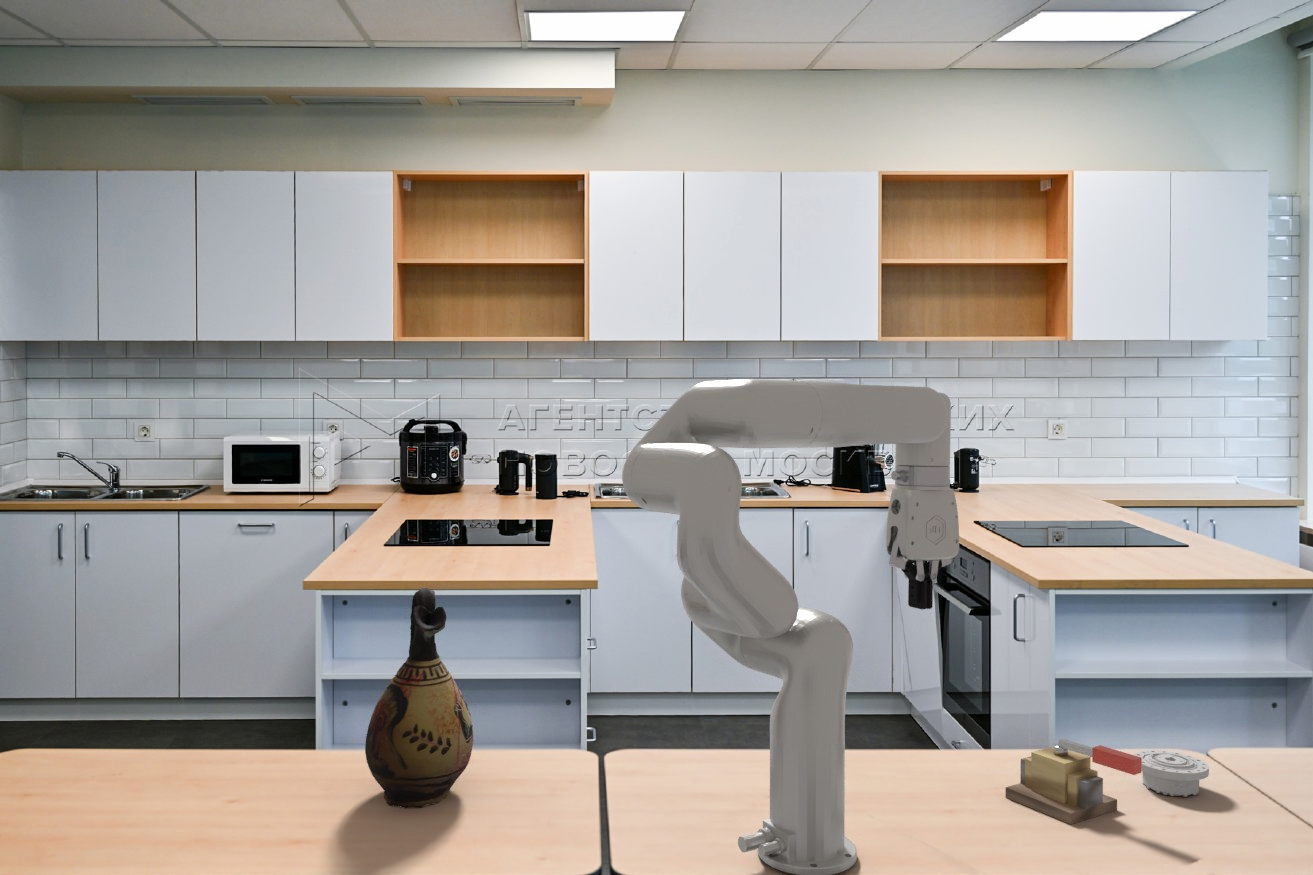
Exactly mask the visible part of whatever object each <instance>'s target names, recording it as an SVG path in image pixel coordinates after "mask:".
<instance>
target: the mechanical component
mask: <svg viewBox="0 0 1313 875" xmlns="http://www.w3.org/2000/svg"><path fill="white" fill-rule="evenodd" d="M1133 755H1134V756H1138V757H1141V758H1142V772H1141V773H1142V778H1141V779H1142V780H1141V781H1142V785H1145V786H1146V789H1147V790H1148V789H1149V790H1150V789H1151V790H1152V791H1154V792H1156V793H1158V794H1163V795H1168V796H1171V797H1174V796H1175V797H1176V796H1177V797H1179V796H1180V797H1186V798H1187V797H1188V796H1192V795H1193V796H1196V795H1197V794H1199V792H1200V780H1204V779H1206V778H1208V777H1209V774H1210V766H1209V765H1208V763H1206V762H1205V761H1203V760H1202V759H1200V758H1198V757H1195V756H1192V755H1189V754H1185V753H1181V752H1175V751H1171V750H1170V751H1169V750H1161V749H1160V750H1158V749H1157V750H1156V749H1154V750H1153V749H1149V750H1142V751H1137V752H1136V753H1134V754H1133Z"/></svg>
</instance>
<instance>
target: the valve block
mask: <svg viewBox="0 0 1313 875" xmlns="http://www.w3.org/2000/svg"><path fill="white" fill-rule="evenodd" d="M1019 779H1020V783H1015V784H1012V785H1009V786H1006V787H1005V798H1006V799H1009V800H1011V801H1013V802H1016V803H1018V804H1021V805H1022V806H1025V807H1028V808H1030V809H1032V810H1036V811H1038V812H1040V813H1043V814H1045V815H1047V816H1050V817H1052V818H1054V819H1056V820H1059V821H1062V822H1064V823H1067V824H1069V825H1073V824H1076V823H1080V822H1083V821H1086V820H1090V819H1093V818H1095V817H1099V816H1101V815H1106V814H1109V813H1112V812H1114V811H1118V799H1117V798H1114V797H1112V796H1109V795H1106V794H1104V792H1103V790H1104V778H1103V777H1100V776H1098V770H1096V769H1095V770H1094V769H1092V768H1091V757H1090V756H1086V755H1083V754H1080V753H1077V752H1074V751H1070V750H1068V755H1057V754H1054V753H1053V746H1051V747H1050V746H1049V747H1046V748H1042V749H1039V750H1033V751H1031V756H1028V757H1023V758H1020V778H1019Z"/></svg>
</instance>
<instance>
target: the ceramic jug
mask: <svg viewBox="0 0 1313 875" xmlns="http://www.w3.org/2000/svg"><path fill="white" fill-rule="evenodd" d="M435 595H436V593H435V591H434V590H433V589H429V588H428V587H422V588H420V589H418V590H417V591H415V593H414V594H413V596H412V600H411V603H412V604H411V612H410V617H409V618H410V626H409V628H410V641H409V648H408V657H407V658H406V660H405V662H403V664H401V666H400V668H399V669H398V670H397V672H396V673H395V675H394V676H393V677H392V678H391V679H390V681H389V683H388V684H387V686H386V688H385V689H384V691H383V692H382V694H381V696H380V698H379V699H378V700H377V701H378V702H376V705H375V706H374V708H373V711H372V715H371V717H370V720H369V724H368V727H367V731H366V736H365V745H364V746H365V748H364V749H365V751H364V752H365V759H366V763H367V766H368V768H369V771H370V773H371V776H372V777H373V778H374V780H375V781H376V782H377V783H378V784H379V786H380V787H381V788H382V789H383V792H384V793H383V794H384V795H383V798H384V800H385V803H386V805H388V806H390V807H391V806H394V807H399V808H400V807H401V808H404V809H422V808H423V807H426V806H432V805H436V804H439V803H440V802H442V801H443V800H445V799H446V798H447V796H448V795H449V793H450V790H451V789H452V787H453V785H454V784H455V783H456V781H457V780H458V779H459V777H460V776H461V775H462V773H464V771H465V770H466V768H467V766H468V765H469V763H470V759H471V755H472V751H473V746H474V730H473V729H474V728H473V727H474V726H473V723H472V722H473V721H472V719H471V713H470V710H469V708H468V703H467V702H466V700H465V698H464V694H463V693H462V691H461V690H460V688H459V686H458V684H457V682H456V681H455V679H454V677H453V675H452V674H451V672H450V671H449V670H448V668H446V665H445V664H444V663H443V661H442V659H441V656H440V655H439V654H438V651H437V644H436V640H435V638H436V637H435V636H436V634H438V633H440V632H441V631H442V630H444V629H445V628H446V621H447V613H446V610H445V608H444V607H443V606H437V607H436V602H437V601H436V597H435Z"/></svg>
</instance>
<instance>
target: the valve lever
mask: <svg viewBox="0 0 1313 875" xmlns="http://www.w3.org/2000/svg"><path fill="white" fill-rule="evenodd" d="M1052 747H1053V753H1054V754H1057V755H1068V750H1070V751H1074V752H1077V753H1080V754H1083V755H1086V756H1089V757H1090V758H1092V759H1091V761H1092V763H1094V764H1097V765H1101V766H1104V767H1107V768H1110V769H1113V770H1117V771H1120V772H1122V773H1125V774H1129V775H1133V776H1136V775H1139V774H1142V773H1143V772H1142V758H1141V757H1138V756H1134V754H1131V753H1127V752H1124V751H1122V750H1118V749H1115V748H1111V747H1107V746H1104V745H1097V746H1093V747H1091V746H1089V745H1085V744H1082V743H1078V742H1075V741H1072V740H1068V739H1066V738H1065V739H1064V738H1061V739H1058V743H1055V744H1053V746H1052Z"/></svg>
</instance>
